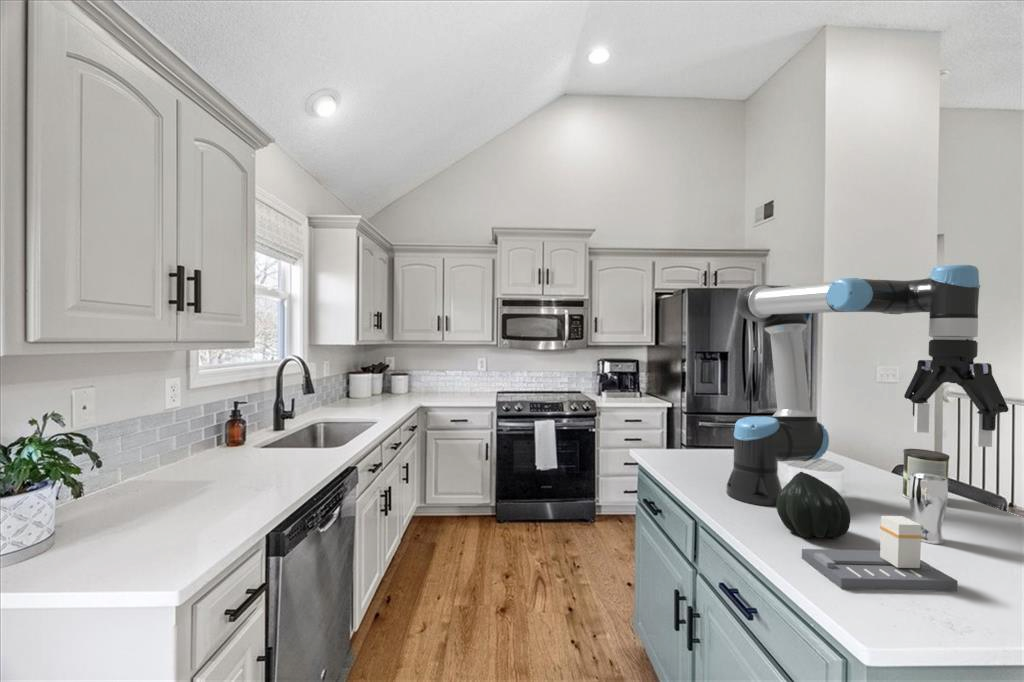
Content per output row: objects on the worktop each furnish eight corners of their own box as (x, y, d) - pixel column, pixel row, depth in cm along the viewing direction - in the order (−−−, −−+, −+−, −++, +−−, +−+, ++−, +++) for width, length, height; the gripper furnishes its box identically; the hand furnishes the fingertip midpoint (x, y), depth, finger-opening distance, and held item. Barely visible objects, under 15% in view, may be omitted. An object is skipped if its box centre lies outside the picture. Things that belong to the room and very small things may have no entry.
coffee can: (893, 492, 144) (894, 447, 144) (929, 494, 143) (930, 449, 143) (919, 504, 134) (920, 456, 134) (957, 506, 133) (959, 458, 133)
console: (903, 560, 100) (904, 546, 99) (957, 591, 88) (957, 575, 87) (801, 558, 100) (802, 544, 100) (841, 588, 88) (841, 572, 88)
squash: (865, 531, 101) (845, 467, 111) (788, 525, 105) (775, 464, 115) (845, 552, 111) (828, 492, 121) (776, 546, 115) (765, 488, 125)
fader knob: (901, 557, 96) (902, 516, 96) (920, 568, 91) (922, 525, 91) (879, 556, 96) (880, 515, 96) (897, 567, 91) (898, 524, 91)
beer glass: (936, 535, 113) (938, 474, 113) (952, 547, 106) (955, 482, 106) (901, 530, 115) (903, 470, 115) (915, 542, 109) (917, 479, 108)
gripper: (1037, 339, 85) (1034, 453, 86) (917, 339, 110) (915, 427, 111) (997, 338, 85) (994, 453, 85) (886, 338, 110) (884, 427, 110)
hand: (950, 438), depth 98 cm, fingers open, 13 cm apart
